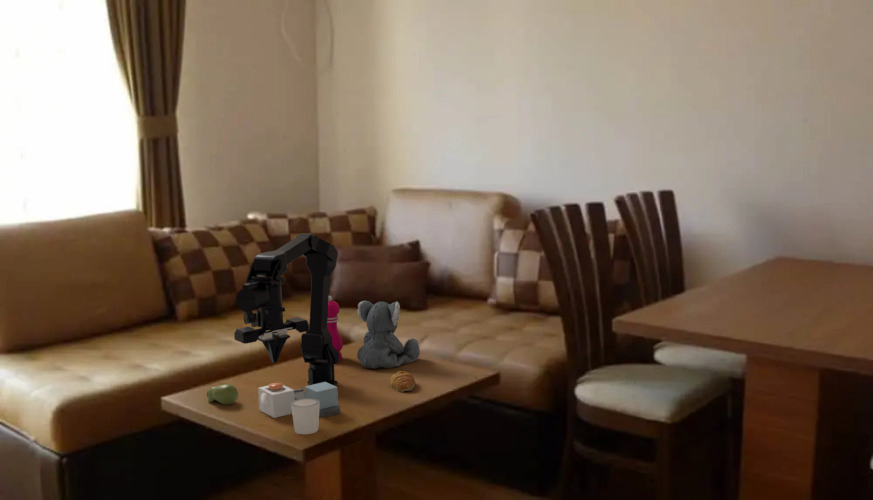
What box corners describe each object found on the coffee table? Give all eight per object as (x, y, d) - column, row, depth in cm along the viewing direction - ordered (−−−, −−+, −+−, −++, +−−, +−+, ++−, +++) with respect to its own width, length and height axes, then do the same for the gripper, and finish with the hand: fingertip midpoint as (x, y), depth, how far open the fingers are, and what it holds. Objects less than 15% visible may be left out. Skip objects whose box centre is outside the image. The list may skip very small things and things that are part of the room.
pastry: (419, 392, 243) (419, 378, 243) (395, 394, 242) (394, 381, 241) (411, 382, 252) (411, 369, 252) (388, 384, 251) (387, 371, 250)
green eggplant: (223, 387, 232) (199, 387, 238) (227, 407, 232) (203, 406, 238) (240, 382, 236) (216, 381, 242) (243, 401, 236) (220, 401, 243)
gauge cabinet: (280, 405, 234) (279, 382, 233) (295, 412, 228) (294, 390, 227) (257, 410, 230) (256, 387, 229) (272, 418, 224) (271, 395, 223)
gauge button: (279, 403, 231) (278, 381, 230) (286, 407, 228) (285, 384, 228) (267, 406, 229) (266, 384, 228) (273, 410, 226) (272, 387, 225)
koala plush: (423, 359, 274) (422, 297, 271) (390, 374, 259) (388, 308, 256) (378, 352, 284) (376, 292, 281) (343, 366, 269) (340, 302, 266)
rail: (301, 394, 242) (301, 388, 242) (340, 413, 227) (340, 406, 226) (284, 398, 239) (284, 392, 239) (322, 417, 223) (322, 411, 223)
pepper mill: (339, 362, 272) (336, 298, 269) (316, 362, 274) (313, 298, 271) (346, 356, 279) (344, 293, 276) (324, 355, 281) (321, 293, 278)
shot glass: (293, 426, 218) (291, 398, 217) (321, 424, 219) (320, 397, 218) (291, 436, 211) (289, 407, 210) (320, 434, 212) (319, 406, 211)
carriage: (326, 405, 233) (325, 381, 232) (338, 410, 228) (337, 387, 227) (305, 410, 229) (304, 386, 228) (317, 416, 224) (316, 391, 224)
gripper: (287, 292, 239) (290, 349, 242) (222, 304, 228) (226, 363, 230) (308, 299, 230) (311, 357, 233) (242, 311, 219) (246, 372, 222)
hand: (274, 362), depth 230 cm, fingers closed
